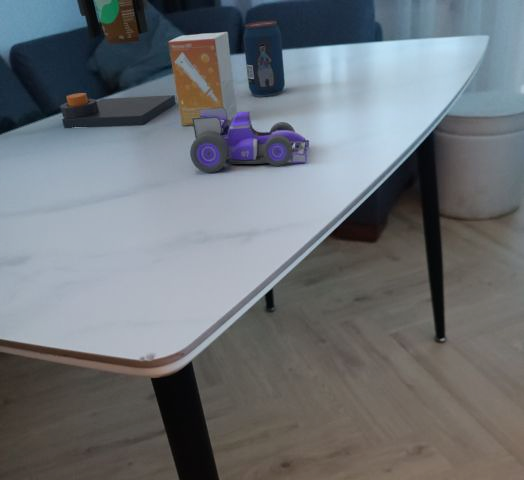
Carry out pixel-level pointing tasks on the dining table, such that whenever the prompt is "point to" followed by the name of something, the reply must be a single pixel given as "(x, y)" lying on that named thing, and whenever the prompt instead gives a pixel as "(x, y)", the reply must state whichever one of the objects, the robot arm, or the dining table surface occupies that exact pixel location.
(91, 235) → the dining table surface
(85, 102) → the button
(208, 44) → the small box
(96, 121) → the scale
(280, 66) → the soda can
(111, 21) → the food container
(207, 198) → the dining table surface
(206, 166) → the toy race car
